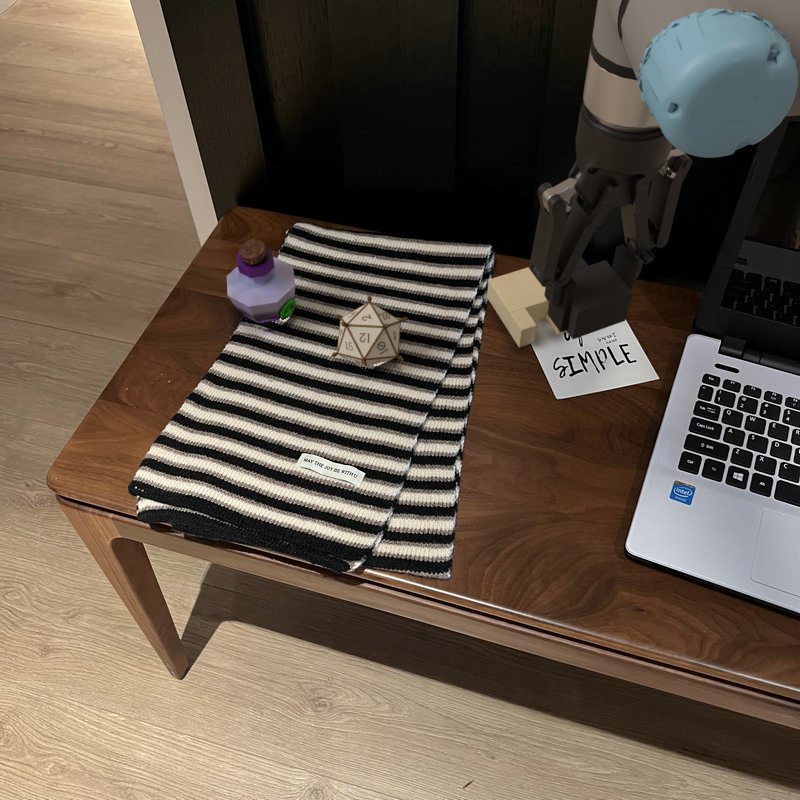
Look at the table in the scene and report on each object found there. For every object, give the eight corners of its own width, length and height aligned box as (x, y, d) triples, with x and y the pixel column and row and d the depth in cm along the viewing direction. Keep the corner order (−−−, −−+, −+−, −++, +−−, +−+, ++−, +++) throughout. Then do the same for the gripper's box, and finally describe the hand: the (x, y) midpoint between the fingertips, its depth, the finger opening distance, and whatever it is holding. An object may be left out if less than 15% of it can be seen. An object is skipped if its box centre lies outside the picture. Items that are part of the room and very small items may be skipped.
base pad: (570, 335, 94) (575, 312, 91) (518, 352, 93) (521, 330, 89) (536, 286, 99) (539, 263, 96) (486, 302, 98) (488, 279, 94)
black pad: (625, 320, 78) (633, 292, 74) (572, 339, 77) (578, 312, 73) (586, 272, 82) (592, 244, 79) (536, 290, 81) (540, 261, 78)
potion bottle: (293, 350, 94) (276, 279, 85) (226, 340, 96) (202, 269, 86) (313, 299, 99) (299, 227, 90) (249, 291, 101) (229, 218, 91)
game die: (369, 366, 97) (370, 286, 94) (420, 379, 92) (423, 294, 89) (315, 378, 91) (315, 293, 88) (367, 393, 85) (368, 302, 82)
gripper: (706, 52, 64) (647, 260, 82) (498, 111, 60) (485, 315, 79) (765, 99, 59) (688, 307, 78) (544, 166, 56) (519, 368, 74)
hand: (586, 311), depth 78 cm, fingers closed on black pad, 6 cm apart
